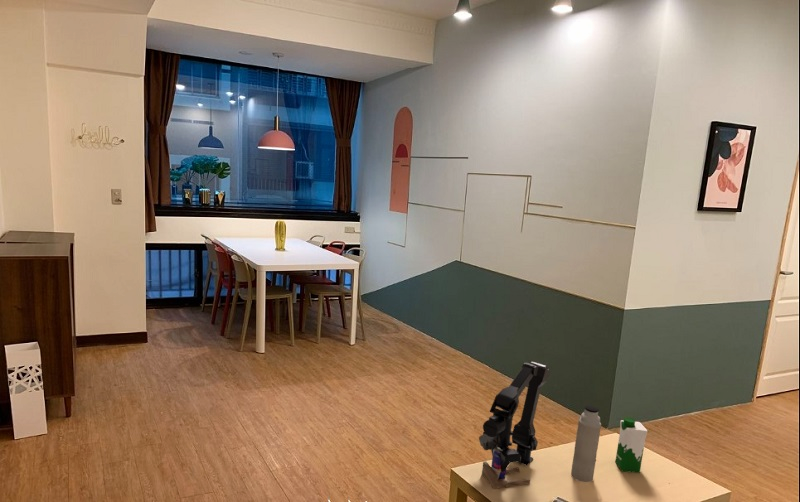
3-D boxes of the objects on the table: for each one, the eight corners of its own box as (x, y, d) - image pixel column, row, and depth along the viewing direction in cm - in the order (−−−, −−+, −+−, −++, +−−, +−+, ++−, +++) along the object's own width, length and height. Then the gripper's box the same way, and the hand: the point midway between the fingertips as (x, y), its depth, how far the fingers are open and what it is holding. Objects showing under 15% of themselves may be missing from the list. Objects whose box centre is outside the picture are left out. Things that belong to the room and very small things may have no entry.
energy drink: (493, 484, 193) (497, 453, 191) (487, 476, 198) (491, 446, 196) (507, 483, 194) (510, 452, 192) (500, 475, 199) (504, 445, 197)
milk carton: (612, 460, 217) (619, 414, 214) (634, 462, 217) (641, 416, 214) (620, 472, 208) (628, 424, 205) (643, 474, 208) (651, 426, 205)
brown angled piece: (517, 470, 204) (518, 458, 203) (530, 484, 195) (531, 471, 194) (481, 473, 199) (483, 461, 198) (493, 488, 190) (494, 475, 189)
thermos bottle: (591, 472, 206) (601, 404, 202) (594, 484, 198) (605, 413, 194) (569, 468, 208) (579, 401, 203) (572, 480, 200) (582, 410, 196)
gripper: (472, 416, 199) (468, 455, 201) (495, 442, 181) (490, 484, 184) (498, 414, 202) (494, 452, 205) (524, 439, 185) (518, 480, 187)
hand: (498, 466), depth 195 cm, fingers closed on energy drink, 5 cm apart
